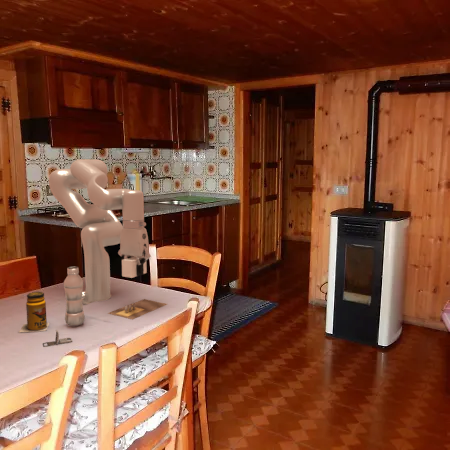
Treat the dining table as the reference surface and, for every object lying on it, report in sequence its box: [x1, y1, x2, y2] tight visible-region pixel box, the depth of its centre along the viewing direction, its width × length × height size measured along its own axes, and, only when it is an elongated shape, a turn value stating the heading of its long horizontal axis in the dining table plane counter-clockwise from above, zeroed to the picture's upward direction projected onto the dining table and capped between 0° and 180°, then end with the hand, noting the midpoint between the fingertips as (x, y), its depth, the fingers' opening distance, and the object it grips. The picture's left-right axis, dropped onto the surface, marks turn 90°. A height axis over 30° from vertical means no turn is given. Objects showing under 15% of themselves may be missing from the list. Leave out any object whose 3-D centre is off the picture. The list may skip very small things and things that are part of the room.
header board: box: [107, 298, 168, 321], centre depth 164 cm, size 20×12×4 cm, turn 149°
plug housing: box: [121, 256, 148, 279], centre depth 160 cm, size 8×4×6 cm, turn 152°
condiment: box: [18, 291, 50, 333], centre depth 147 cm, size 7×8×12 cm
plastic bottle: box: [63, 266, 86, 327], centre depth 150 cm, size 6×7×20 cm
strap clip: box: [42, 329, 73, 348], centre depth 135 cm, size 8×3×4 cm, turn 117°
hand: (134, 273), depth 160 cm, fingers closed on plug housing, 4 cm apart
